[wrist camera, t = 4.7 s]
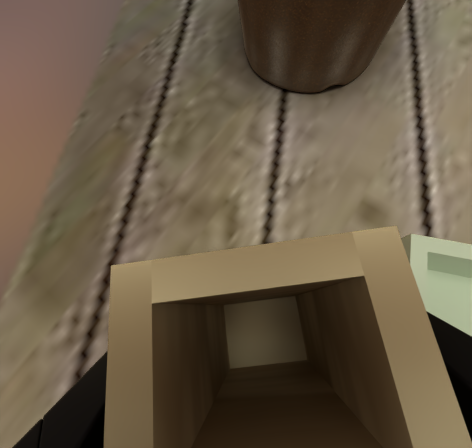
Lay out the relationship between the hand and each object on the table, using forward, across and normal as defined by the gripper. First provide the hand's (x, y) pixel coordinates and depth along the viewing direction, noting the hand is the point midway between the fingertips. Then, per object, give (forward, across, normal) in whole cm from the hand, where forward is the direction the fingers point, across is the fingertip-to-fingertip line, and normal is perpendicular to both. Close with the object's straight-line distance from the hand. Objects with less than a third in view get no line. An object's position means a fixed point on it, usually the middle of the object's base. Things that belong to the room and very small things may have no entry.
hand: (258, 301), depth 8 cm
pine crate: (+4, 0, +6) cm, 7 cm away
